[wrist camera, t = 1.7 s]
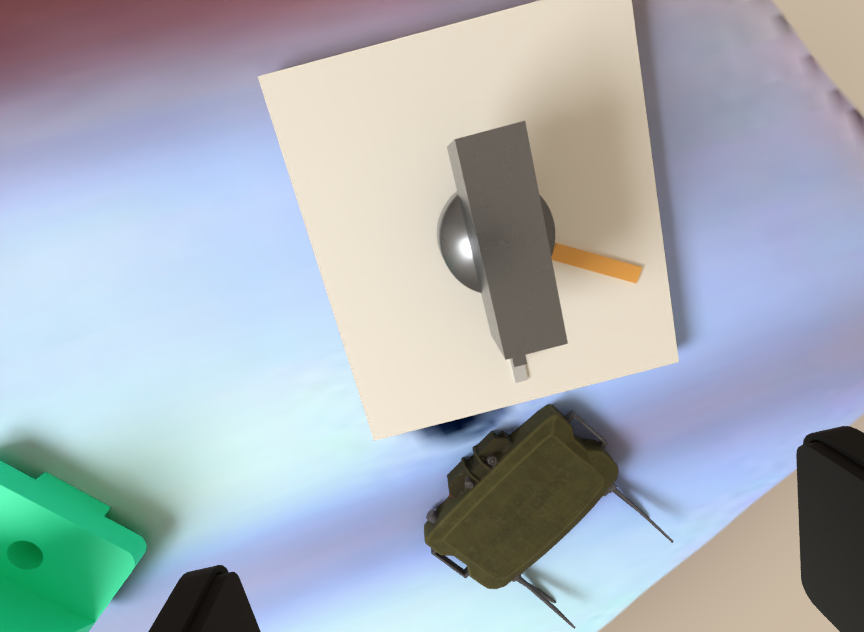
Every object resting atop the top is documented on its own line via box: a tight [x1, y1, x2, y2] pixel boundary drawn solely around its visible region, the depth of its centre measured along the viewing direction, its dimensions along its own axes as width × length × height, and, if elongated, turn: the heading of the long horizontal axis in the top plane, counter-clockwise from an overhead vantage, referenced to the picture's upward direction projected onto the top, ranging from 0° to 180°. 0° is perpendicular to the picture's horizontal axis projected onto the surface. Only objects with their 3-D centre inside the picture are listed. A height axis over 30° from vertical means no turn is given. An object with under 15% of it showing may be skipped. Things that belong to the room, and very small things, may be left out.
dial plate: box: [258, 0, 679, 441], centre depth 29 cm, size 22×20×2 cm
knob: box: [437, 121, 568, 367], centre depth 25 cm, size 13×6×7 cm, turn 14°
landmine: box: [424, 404, 674, 629], centre depth 35 cm, size 14×3×15 cm
